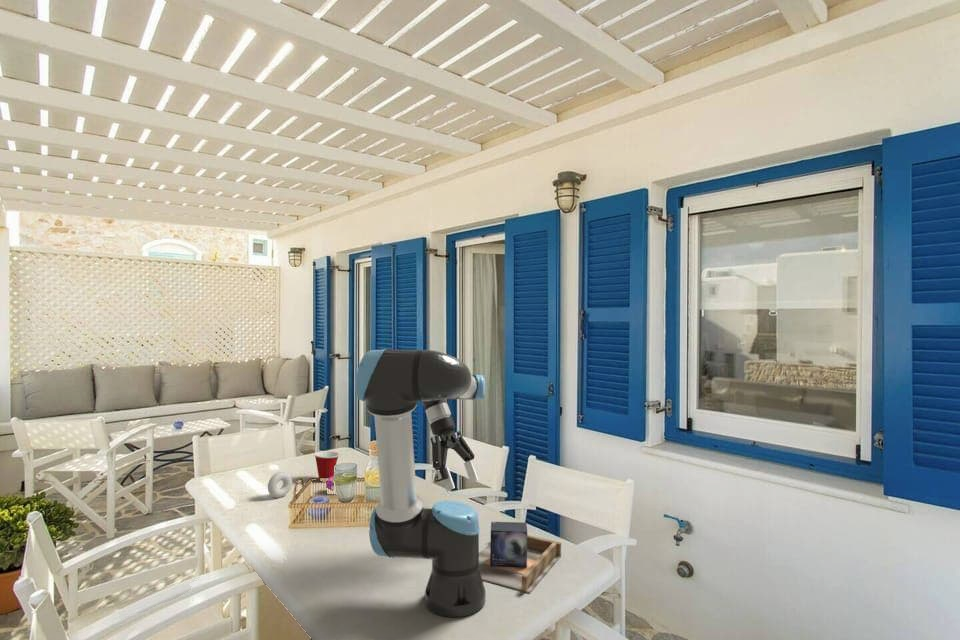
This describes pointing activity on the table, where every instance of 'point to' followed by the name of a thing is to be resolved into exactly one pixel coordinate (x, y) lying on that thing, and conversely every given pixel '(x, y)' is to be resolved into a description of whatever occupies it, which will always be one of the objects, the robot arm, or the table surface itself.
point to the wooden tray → (522, 578)
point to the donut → (285, 488)
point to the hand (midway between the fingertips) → (463, 485)
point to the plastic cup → (326, 463)
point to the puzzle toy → (330, 484)
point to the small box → (508, 544)
